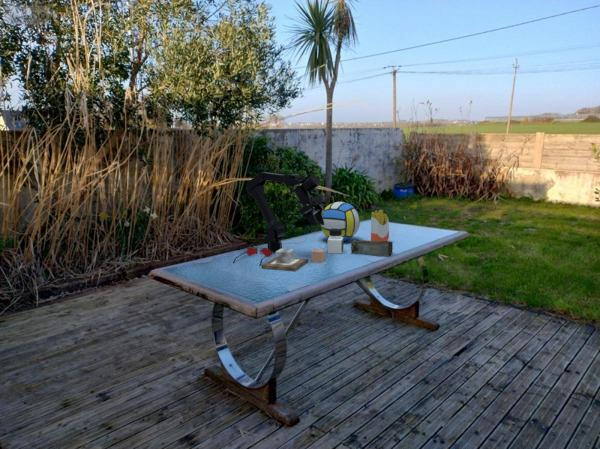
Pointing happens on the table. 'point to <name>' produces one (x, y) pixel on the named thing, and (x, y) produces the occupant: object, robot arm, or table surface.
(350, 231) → the volleyball
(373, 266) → the table surface
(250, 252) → the glasses
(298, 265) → the base board
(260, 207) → the robot arm
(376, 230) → the french fries container
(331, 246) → the medicine bottle
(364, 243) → the beverage carton
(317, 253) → the terracotta block
